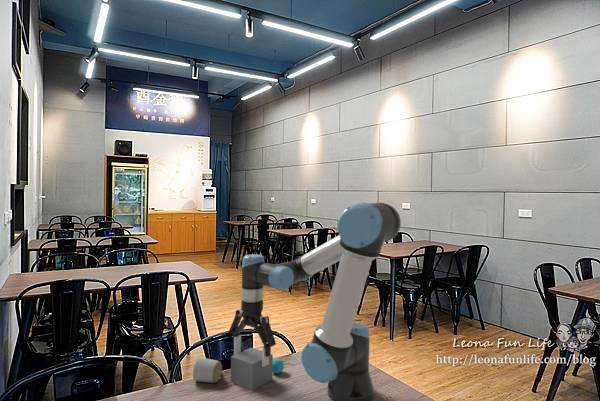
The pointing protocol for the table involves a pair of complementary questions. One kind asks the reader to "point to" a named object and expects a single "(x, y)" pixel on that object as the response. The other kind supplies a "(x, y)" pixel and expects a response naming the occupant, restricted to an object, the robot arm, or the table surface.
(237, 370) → the grey cube
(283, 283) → the robot arm
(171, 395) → the table surface
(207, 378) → the ceramic mug
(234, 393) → the table surface
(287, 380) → the table surface
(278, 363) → the ball
